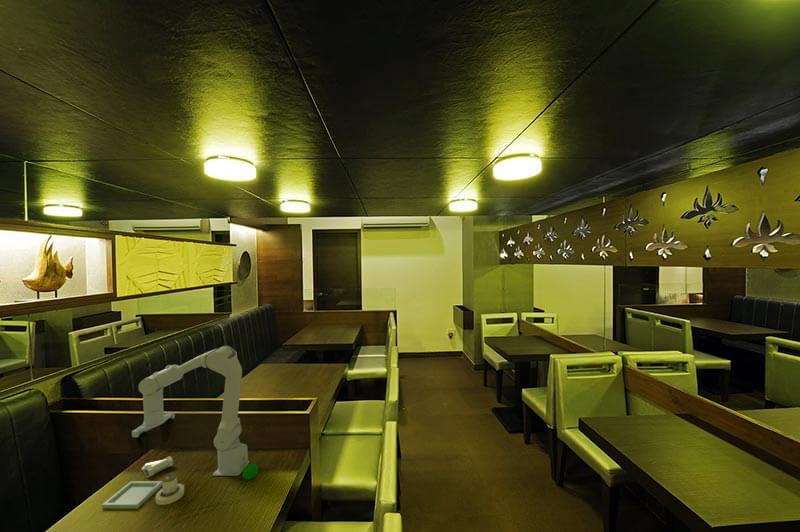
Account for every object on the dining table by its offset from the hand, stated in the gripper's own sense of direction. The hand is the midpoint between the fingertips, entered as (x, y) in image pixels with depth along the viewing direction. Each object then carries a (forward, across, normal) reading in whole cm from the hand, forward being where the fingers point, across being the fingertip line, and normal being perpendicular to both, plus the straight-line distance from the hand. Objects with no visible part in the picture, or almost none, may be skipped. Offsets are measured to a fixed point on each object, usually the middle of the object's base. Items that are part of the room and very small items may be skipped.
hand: (155, 446), depth 123 cm
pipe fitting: (+10, -2, -2) cm, 11 cm away
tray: (+10, +11, +4) cm, 15 cm away
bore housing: (+10, +8, +15) cm, 20 cm away
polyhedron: (+10, -6, +35) cm, 37 cm away
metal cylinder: (+10, +8, +15) cm, 20 cm away
